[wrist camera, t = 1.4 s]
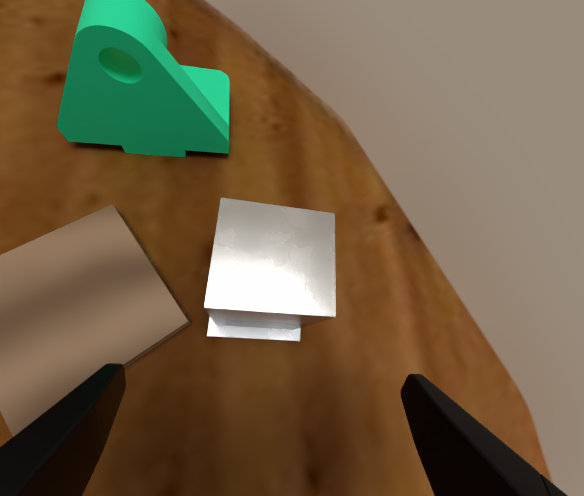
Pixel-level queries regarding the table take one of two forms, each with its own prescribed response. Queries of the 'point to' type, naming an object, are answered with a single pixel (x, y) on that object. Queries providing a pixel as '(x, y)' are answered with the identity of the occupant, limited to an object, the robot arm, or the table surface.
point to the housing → (270, 271)
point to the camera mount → (139, 87)
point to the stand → (76, 311)
